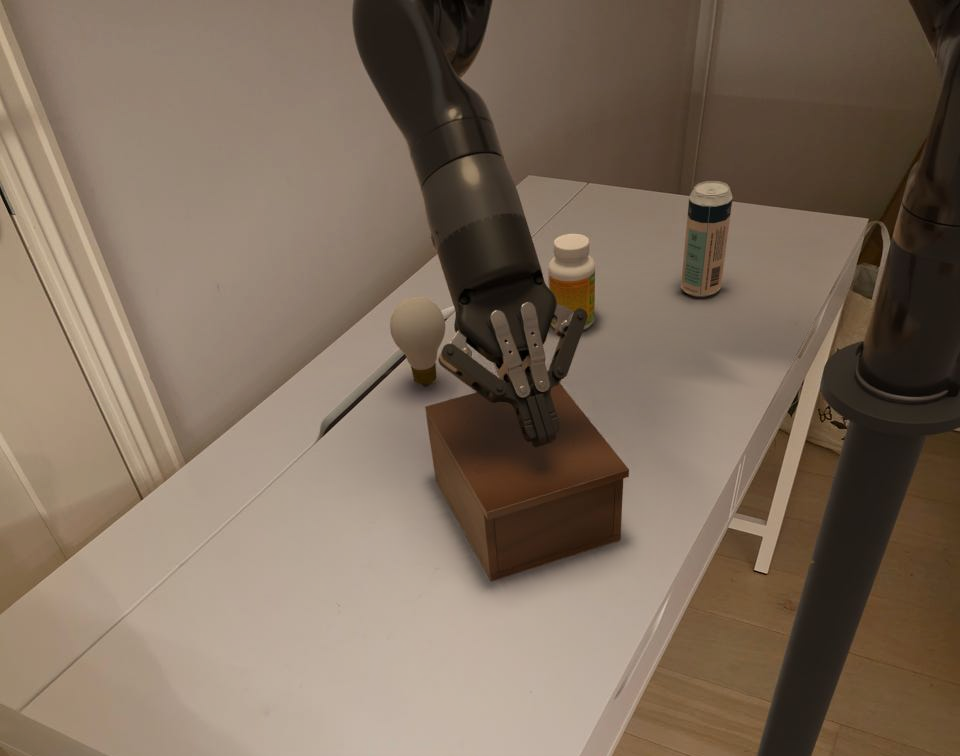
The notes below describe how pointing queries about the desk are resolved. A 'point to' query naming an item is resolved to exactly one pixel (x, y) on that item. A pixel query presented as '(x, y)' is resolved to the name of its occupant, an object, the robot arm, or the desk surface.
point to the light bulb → (419, 335)
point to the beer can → (706, 238)
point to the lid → (522, 453)
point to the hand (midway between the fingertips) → (545, 443)
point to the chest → (529, 521)
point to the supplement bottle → (573, 275)
